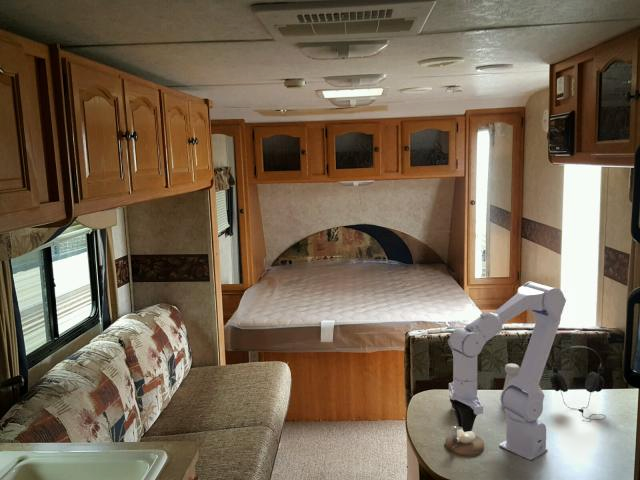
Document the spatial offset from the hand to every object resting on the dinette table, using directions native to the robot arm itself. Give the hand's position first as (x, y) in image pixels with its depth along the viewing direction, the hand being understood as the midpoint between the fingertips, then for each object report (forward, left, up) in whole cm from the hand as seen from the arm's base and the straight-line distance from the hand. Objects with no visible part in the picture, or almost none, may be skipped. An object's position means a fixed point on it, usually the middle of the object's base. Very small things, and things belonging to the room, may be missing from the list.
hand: (465, 428), depth 137 cm
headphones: (-5, -47, -10) cm, 48 cm away
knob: (+5, -6, -7) cm, 10 cm away
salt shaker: (+11, -37, -10) cm, 40 cm away
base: (+5, -7, -9) cm, 13 cm away
